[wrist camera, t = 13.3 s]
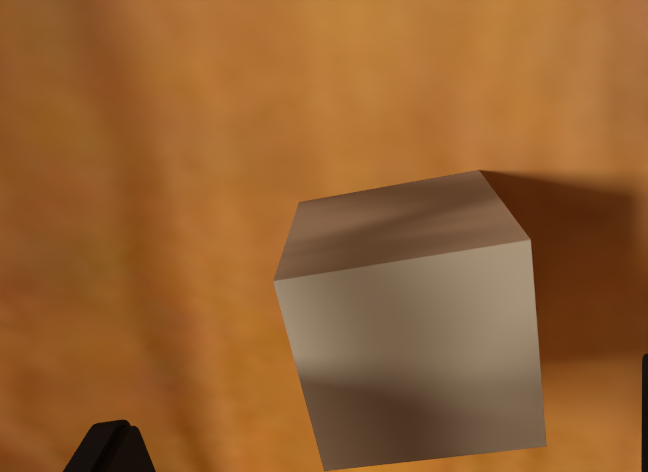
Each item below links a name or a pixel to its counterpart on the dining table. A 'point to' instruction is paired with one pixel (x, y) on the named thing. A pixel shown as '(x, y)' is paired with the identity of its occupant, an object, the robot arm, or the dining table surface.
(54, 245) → the dining table surface
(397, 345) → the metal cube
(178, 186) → the dining table surface
